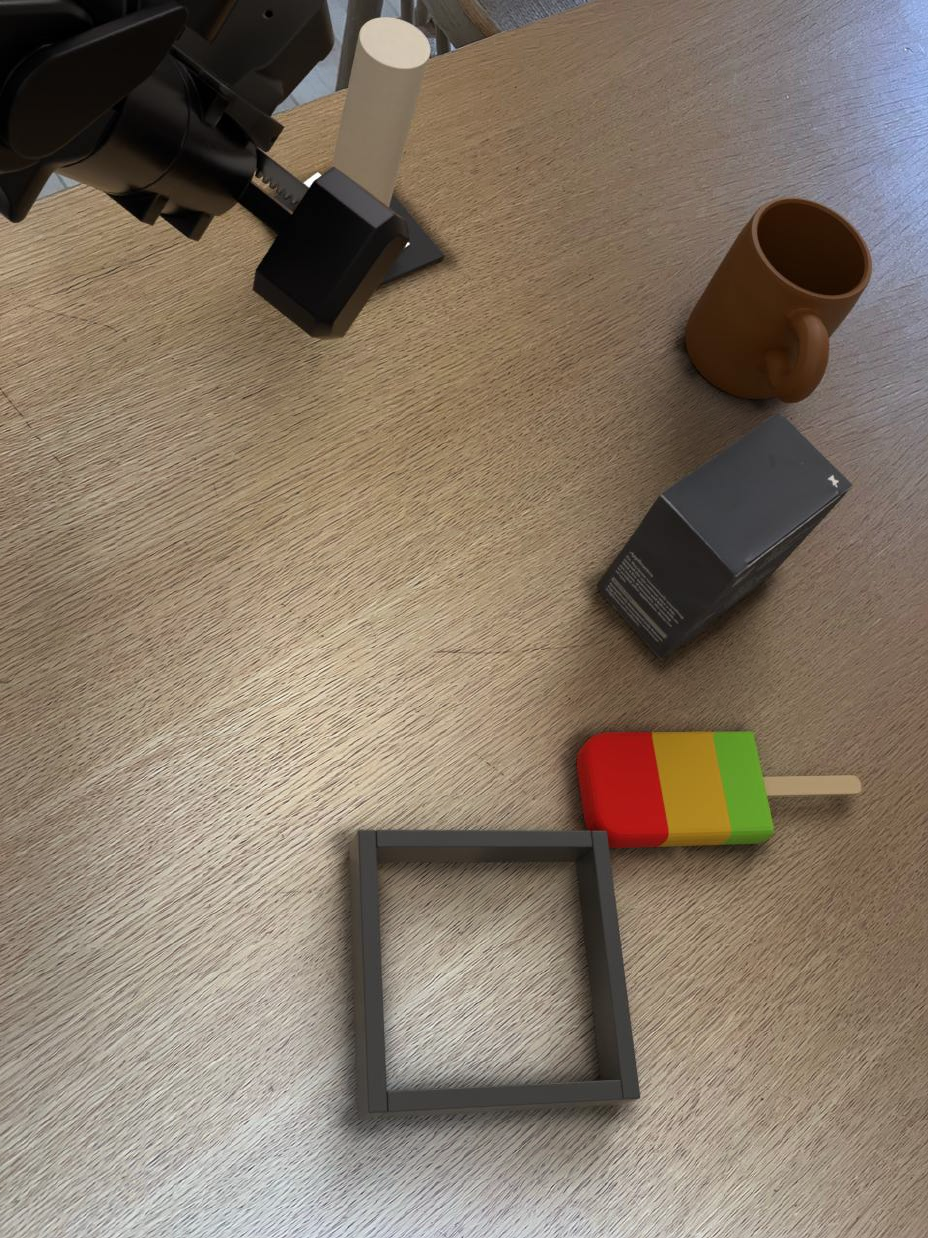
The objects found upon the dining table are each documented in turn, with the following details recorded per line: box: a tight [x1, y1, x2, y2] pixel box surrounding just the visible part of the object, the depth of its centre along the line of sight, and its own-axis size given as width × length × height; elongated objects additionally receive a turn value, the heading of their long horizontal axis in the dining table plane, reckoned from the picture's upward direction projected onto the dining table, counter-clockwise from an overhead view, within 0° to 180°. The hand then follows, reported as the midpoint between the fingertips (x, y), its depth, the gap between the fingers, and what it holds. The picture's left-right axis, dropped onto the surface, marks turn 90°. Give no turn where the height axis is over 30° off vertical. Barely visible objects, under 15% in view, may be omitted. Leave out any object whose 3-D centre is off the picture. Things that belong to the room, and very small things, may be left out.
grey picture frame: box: [348, 829, 641, 1120], centre depth 55 cm, size 12×12×2 cm
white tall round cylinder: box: [302, 16, 432, 256], centre depth 68 cm, size 7×4×13 cm, turn 53°
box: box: [596, 412, 853, 660], centre depth 64 cm, size 9×6×10 cm, turn 131°
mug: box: [684, 196, 873, 404], centre depth 72 cm, size 12×8×9 cm, turn 177°
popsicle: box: [576, 730, 862, 849], centre depth 62 cm, size 6×15×2 cm, turn 96°
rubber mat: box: [272, 193, 446, 288], centre depth 73 cm, size 8×8×1 cm
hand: (276, 193), depth 62 cm, fingers open, 9 cm apart
